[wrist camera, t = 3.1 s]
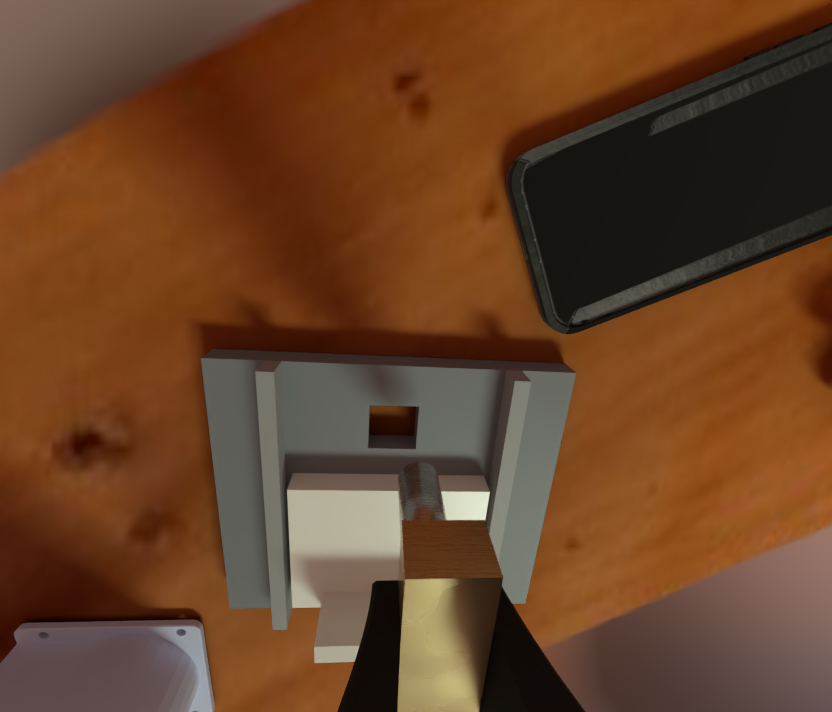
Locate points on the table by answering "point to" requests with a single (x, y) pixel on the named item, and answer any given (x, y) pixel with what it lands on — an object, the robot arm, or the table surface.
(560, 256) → the phone
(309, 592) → the cover
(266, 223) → the table surface
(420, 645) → the hammer
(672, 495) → the table surface
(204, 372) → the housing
